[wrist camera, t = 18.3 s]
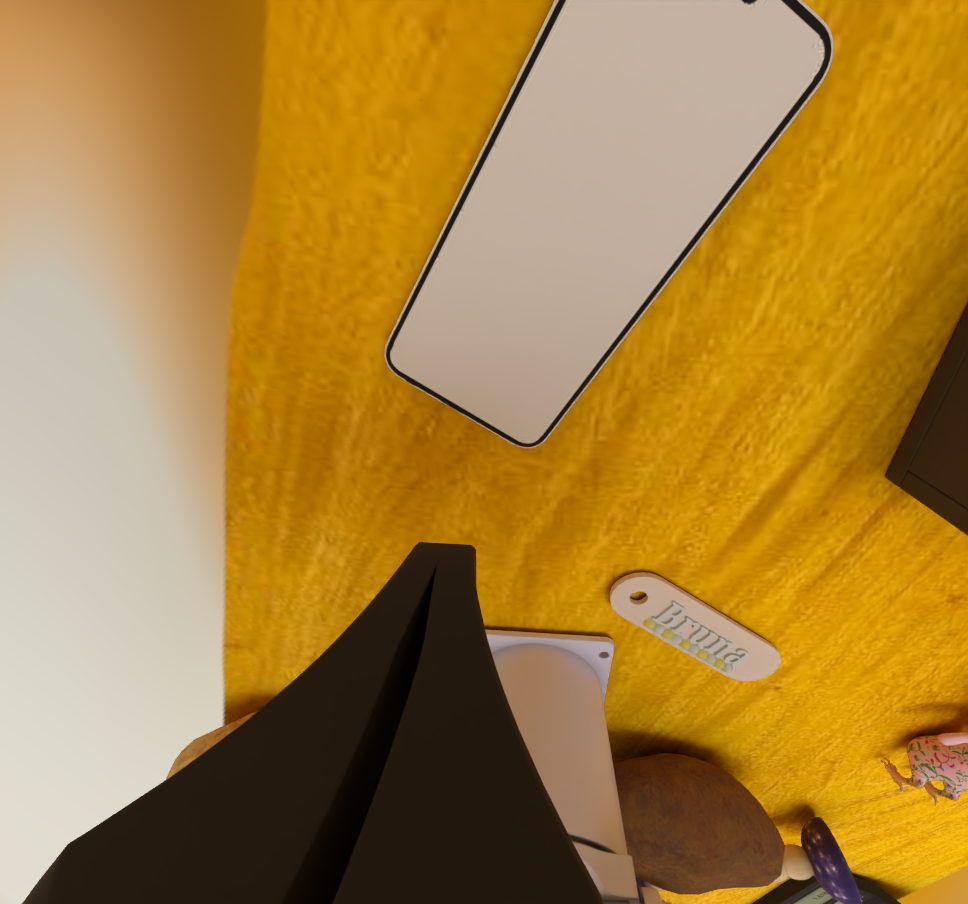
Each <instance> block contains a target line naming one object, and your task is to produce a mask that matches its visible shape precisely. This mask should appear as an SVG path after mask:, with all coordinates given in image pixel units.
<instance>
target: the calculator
mask: <svg viewBox="0 0 968 904" xmlns="http://www.w3.org/2000/svg"><path fill="white" fill-rule="evenodd" d="M853 878H854V880H855V883H856V885H857V887H858V890H859V894H860V897H861V901H862V904H901V903H899V902H898V901H897V900H896V899H894V898H893V897H892V896H890V895H889V894H888V893H887V892H885V891H884V890H883V889H881V888H880V887H879V886H878V885H876V884H875V883H872V882H869V881H866V880H863V879H860V878H857V877H854V876H853ZM753 904H843V903H841V902H839V901H837V900H835V899H834V898H833V897H832V896H830V895H829V894H828V893H827V892H826V891H825V890H824V889H823V888H822V887H821V885H820V884H819V883H818V881H817V880H816V878H815V877H814V876H811V877H810V878H809V879H806V880H796V879H792V878H791V879H790V880H788V881H787V882H785V883H784V884H782V885H781V886H779V887H778V888H776V889H774V890H773V891H771V892H770V893H768V894H767V895H765V896H764V897H762V898H761V899H759V900H758V901H756V902H754V903H753Z"/></svg>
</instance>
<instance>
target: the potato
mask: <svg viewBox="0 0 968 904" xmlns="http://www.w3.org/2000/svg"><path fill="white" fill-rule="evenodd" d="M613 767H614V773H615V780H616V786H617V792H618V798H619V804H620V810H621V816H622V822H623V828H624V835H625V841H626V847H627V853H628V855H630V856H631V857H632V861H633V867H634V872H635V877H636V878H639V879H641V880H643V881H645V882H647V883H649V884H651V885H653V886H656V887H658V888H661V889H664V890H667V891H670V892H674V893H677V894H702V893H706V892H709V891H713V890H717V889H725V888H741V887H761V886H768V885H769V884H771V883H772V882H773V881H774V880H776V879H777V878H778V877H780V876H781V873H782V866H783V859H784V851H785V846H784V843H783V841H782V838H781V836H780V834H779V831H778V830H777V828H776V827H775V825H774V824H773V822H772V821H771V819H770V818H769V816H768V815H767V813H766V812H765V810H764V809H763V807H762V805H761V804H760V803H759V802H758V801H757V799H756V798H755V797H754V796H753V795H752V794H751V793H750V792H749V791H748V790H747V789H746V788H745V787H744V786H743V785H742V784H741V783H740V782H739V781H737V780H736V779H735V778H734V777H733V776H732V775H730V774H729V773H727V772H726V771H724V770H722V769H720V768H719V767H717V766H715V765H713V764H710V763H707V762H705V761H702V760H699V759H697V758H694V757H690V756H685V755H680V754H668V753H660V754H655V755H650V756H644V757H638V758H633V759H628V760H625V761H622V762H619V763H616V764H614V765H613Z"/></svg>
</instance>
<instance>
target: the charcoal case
mask: <svg viewBox="0 0 968 904" xmlns="http://www.w3.org/2000/svg"><path fill="white" fill-rule="evenodd" d="M885 477H886V478H887V479H888V480H890V481H891V482H893V483H894V484H895V485H897V486H899V487H900V488H901V489H903V490H904V491H905V492H907V493H908V494H910V495H911V496H913V497H914V498H915V499H917V500H918V501H920V502H921V503H922V504H924V505H925V506H927V507H928V508H930V509H931V510H932V511H934V512H935V513H937V514H938V515H939V516H941V517H942V518H944V519H945V520H947V521H948V522H949V523H951V524H952V525H954V526H955V527H956V528H958V529H959V530H961V531H962V532H964V533H965V534H966V535H968V306H967V308H966V310H965V312H964V314H963V316H962V318H961V321H960V323H959V325H958V327H957V329H956V331H955V333H954V335H953V337H952V339H951V341H950V343H949V345H948V347H947V350H946V352H945V354H944V356H943V358H942V360H941V362H940V364H939V366H938V368H937V370H936V372H935V374H934V376H933V379H932V381H931V383H930V385H929V387H928V389H927V391H926V393H925V395H924V397H923V399H922V401H921V403H920V405H919V408H918V410H917V412H916V414H915V416H914V418H913V420H912V422H911V424H910V426H909V428H908V430H907V432H906V434H905V437H904V439H903V441H902V443H901V445H900V447H899V449H898V451H897V453H896V455H895V457H894V459H893V461H892V463H891V466H890V468H889V470H888V472H887V474H886V476H885Z"/></svg>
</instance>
